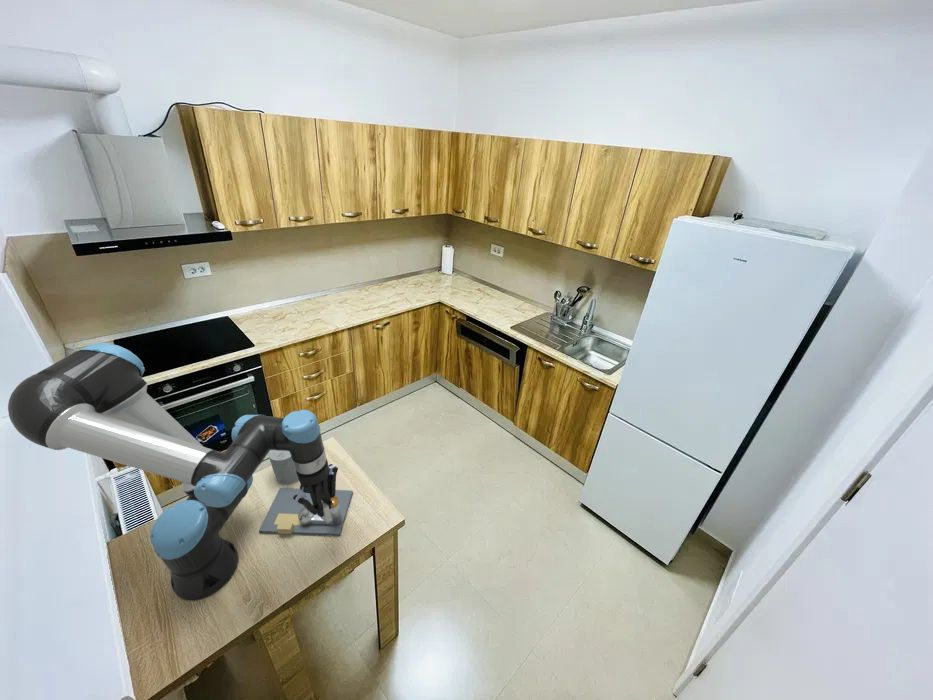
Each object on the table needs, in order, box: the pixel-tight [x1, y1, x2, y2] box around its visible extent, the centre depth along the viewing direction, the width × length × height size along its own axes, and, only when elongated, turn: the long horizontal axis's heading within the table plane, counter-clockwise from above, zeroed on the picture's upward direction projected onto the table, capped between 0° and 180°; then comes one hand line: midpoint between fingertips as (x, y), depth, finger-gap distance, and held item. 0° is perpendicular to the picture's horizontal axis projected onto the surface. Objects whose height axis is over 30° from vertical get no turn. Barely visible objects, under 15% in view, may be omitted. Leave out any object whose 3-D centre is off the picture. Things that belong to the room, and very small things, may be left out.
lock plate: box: [258, 487, 354, 537], centre depth 116 cm, size 24×16×5 cm, turn 90°
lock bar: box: [298, 496, 342, 526], centre depth 111 cm, size 13×4×10 cm, turn 90°
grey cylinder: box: [267, 450, 299, 486], centre depth 126 cm, size 10×10×12 cm
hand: (326, 518), depth 105 cm, fingers closed
